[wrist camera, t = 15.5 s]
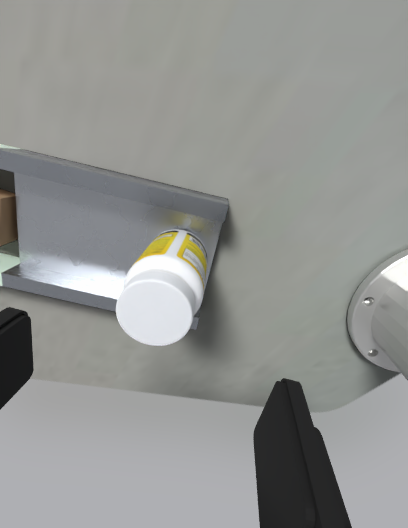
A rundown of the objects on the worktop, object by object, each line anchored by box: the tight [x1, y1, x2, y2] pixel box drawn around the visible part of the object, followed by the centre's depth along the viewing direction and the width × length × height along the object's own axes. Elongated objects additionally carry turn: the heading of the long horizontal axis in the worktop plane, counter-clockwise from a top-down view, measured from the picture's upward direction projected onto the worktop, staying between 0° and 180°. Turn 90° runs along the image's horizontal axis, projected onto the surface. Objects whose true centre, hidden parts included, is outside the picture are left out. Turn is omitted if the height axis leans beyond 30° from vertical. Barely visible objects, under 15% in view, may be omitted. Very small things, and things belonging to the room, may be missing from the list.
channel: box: [0, 148, 229, 330], centre depth 20 cm, size 16×10×3 cm, turn 77°
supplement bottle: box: [116, 229, 207, 346], centre depth 17 cm, size 5×5×8 cm
